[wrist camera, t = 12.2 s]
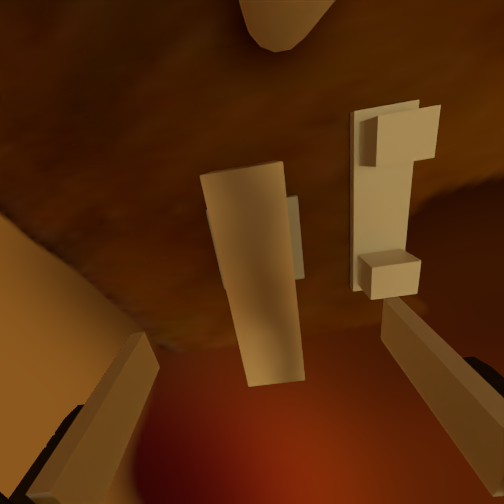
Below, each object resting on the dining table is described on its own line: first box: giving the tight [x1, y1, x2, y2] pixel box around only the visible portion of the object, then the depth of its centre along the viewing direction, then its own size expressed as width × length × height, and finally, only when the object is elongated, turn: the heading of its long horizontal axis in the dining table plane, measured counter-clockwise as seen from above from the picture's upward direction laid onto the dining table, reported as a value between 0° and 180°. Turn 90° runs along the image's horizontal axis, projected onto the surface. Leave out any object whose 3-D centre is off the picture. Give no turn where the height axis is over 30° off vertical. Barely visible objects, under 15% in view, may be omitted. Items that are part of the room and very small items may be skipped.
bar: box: [200, 161, 305, 386], centre depth 19 cm, size 5×18×5 cm, turn 9°
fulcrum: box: [206, 194, 304, 290], centre depth 25 cm, size 10×10×7 cm
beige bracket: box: [350, 100, 441, 300], centre depth 24 cm, size 6×20×4 cm, turn 9°
